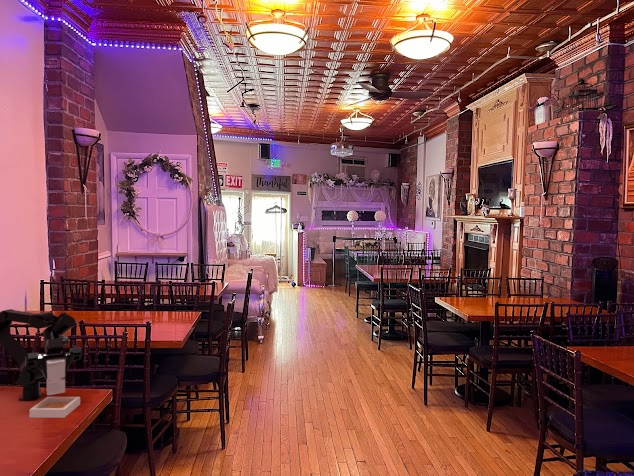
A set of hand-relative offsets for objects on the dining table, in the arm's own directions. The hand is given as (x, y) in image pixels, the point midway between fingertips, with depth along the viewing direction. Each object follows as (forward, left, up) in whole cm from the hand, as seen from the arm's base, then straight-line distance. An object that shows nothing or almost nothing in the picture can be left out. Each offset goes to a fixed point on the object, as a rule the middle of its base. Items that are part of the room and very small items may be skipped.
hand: (56, 376), depth 175 cm
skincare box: (-1, -1, -7) cm, 7 cm away
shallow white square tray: (-1, -1, -13) cm, 13 cm away
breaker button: (-1, -1, -13) cm, 13 cm away
